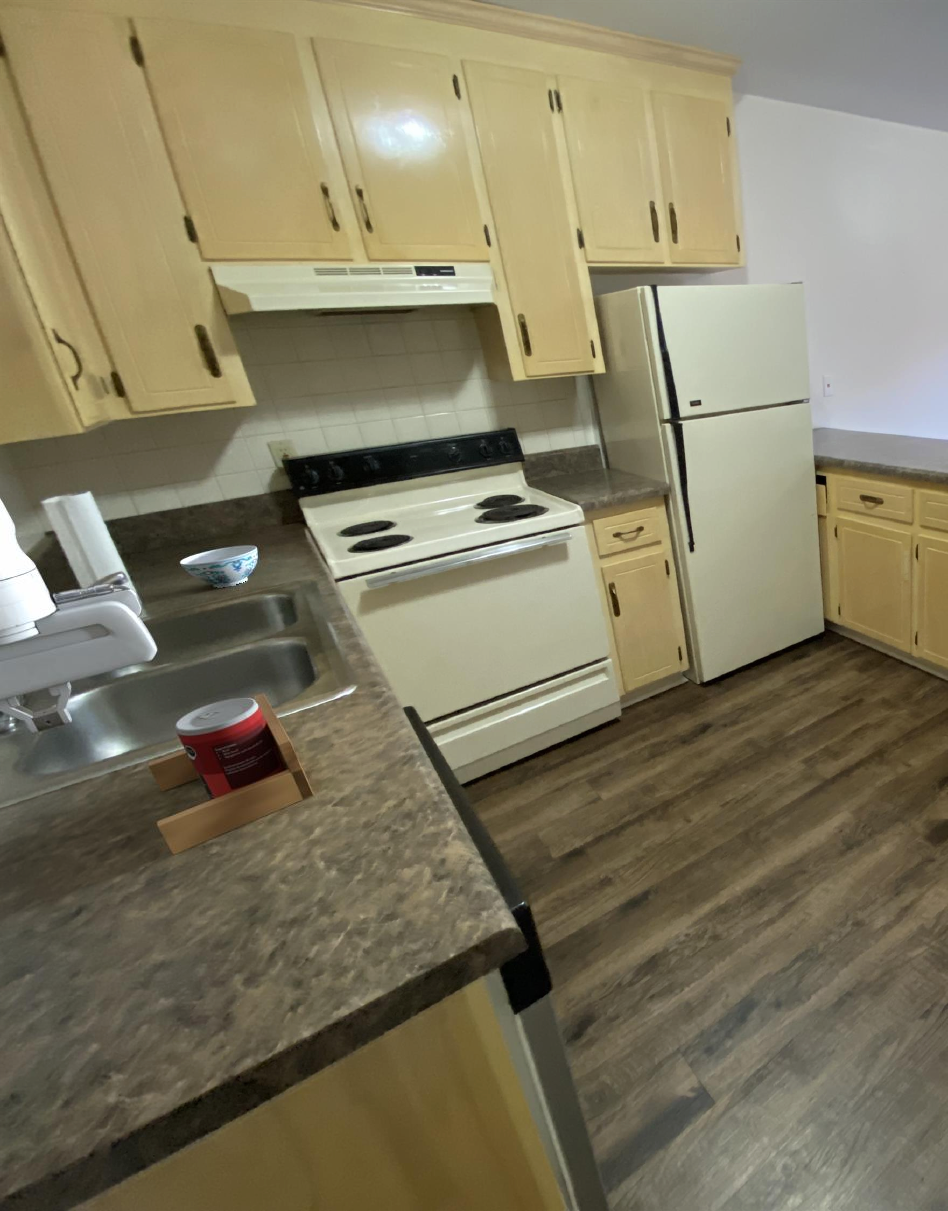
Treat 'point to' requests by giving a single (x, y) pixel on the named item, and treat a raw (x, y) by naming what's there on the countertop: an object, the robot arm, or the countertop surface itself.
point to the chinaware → (222, 565)
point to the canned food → (229, 745)
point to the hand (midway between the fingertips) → (52, 726)
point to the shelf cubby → (234, 805)
